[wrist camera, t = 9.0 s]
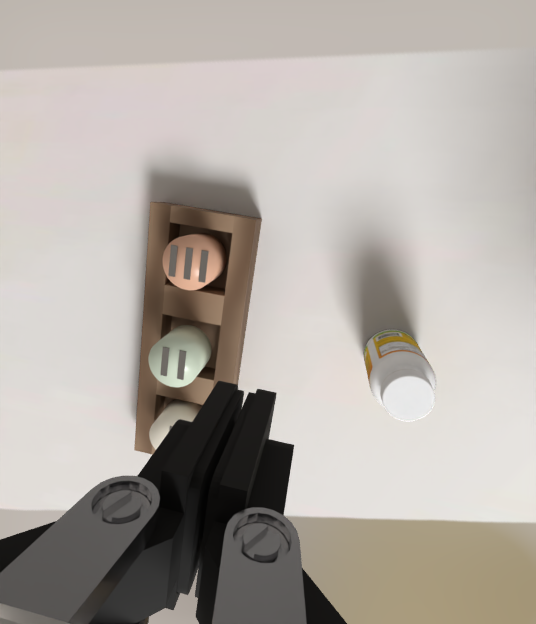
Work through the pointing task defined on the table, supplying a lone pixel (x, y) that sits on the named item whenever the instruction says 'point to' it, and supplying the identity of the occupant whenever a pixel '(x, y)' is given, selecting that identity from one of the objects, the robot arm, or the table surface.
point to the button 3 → (194, 260)
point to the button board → (194, 306)
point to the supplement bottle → (400, 375)
